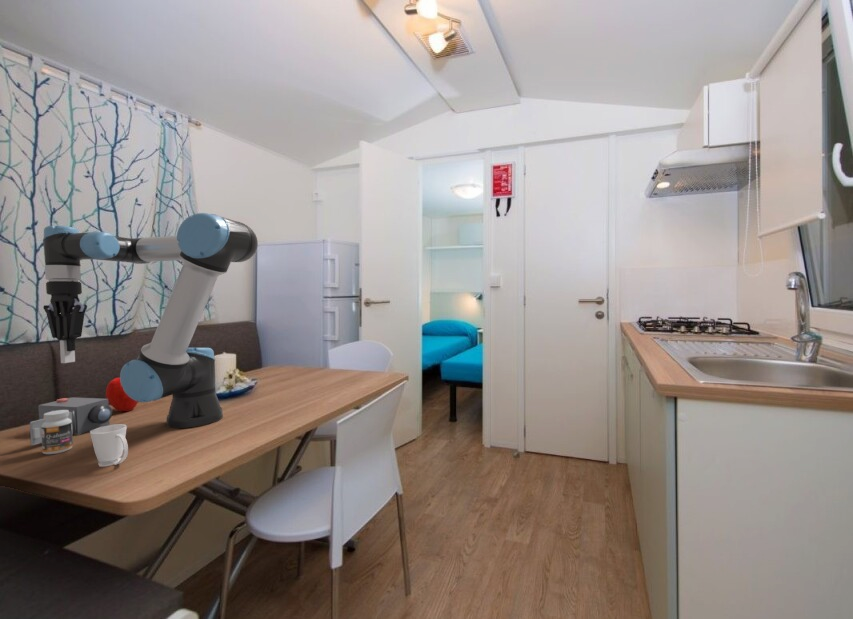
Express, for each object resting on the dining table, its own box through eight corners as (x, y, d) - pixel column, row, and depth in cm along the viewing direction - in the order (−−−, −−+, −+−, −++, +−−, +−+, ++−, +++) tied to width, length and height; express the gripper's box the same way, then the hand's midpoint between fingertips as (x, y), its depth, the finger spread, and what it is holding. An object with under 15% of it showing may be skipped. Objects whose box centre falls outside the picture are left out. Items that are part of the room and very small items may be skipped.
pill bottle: (46, 457, 96) (44, 416, 96) (39, 452, 99) (37, 413, 99) (76, 449, 101) (74, 410, 100) (68, 445, 104) (66, 407, 103)
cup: (117, 454, 96) (116, 422, 96) (143, 460, 92) (142, 427, 92) (83, 466, 90) (81, 431, 90) (109, 473, 86) (107, 437, 86)
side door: (73, 432, 111) (72, 410, 111) (78, 432, 111) (77, 410, 111) (30, 445, 101) (29, 421, 101) (35, 446, 101) (34, 421, 101)
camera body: (116, 425, 120) (115, 396, 119) (84, 435, 111) (83, 405, 110) (73, 422, 123) (71, 395, 123) (38, 432, 114) (37, 403, 114)
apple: (98, 414, 132) (96, 378, 131) (126, 406, 141) (125, 372, 141) (122, 415, 130) (120, 379, 129) (149, 407, 139) (148, 373, 139)
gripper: (95, 280, 115) (99, 360, 116) (60, 282, 118) (64, 359, 119) (67, 279, 108) (71, 364, 109) (30, 281, 111) (35, 364, 111)
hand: (68, 362), depth 114 cm, fingers closed
